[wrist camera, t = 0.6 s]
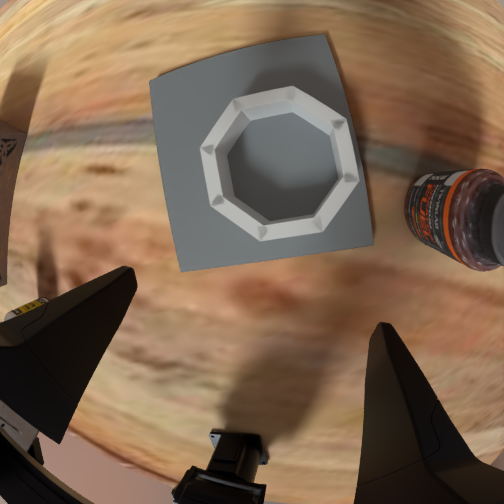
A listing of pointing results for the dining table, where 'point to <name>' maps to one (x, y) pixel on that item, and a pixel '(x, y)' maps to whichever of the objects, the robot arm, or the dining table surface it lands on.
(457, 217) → the supplement bottle
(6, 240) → the tissue box cover
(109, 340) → the robot arm
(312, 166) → the collar mount
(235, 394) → the dining table surface
